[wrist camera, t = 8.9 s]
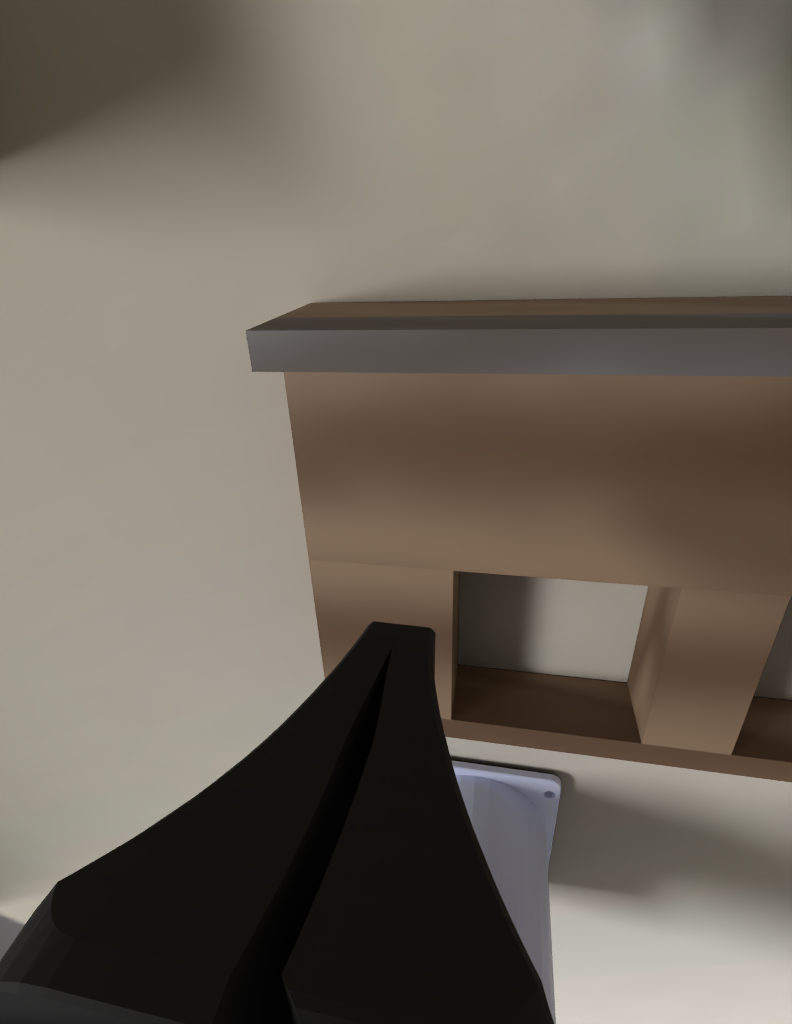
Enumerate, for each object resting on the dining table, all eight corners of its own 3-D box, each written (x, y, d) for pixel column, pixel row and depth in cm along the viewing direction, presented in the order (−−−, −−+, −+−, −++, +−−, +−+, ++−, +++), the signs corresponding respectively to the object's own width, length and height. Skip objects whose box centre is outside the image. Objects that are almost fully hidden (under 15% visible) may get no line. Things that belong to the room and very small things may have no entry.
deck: (1016, 745, 20) (1151, 886, 16) (349, 669, 25) (315, 763, 21) (1353, 287, 13) (1774, 323, 9) (311, 302, 18) (245, 330, 13)
